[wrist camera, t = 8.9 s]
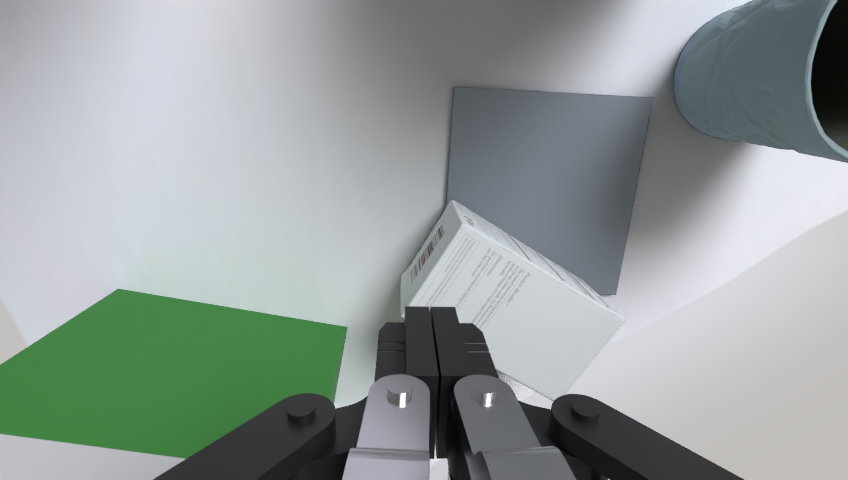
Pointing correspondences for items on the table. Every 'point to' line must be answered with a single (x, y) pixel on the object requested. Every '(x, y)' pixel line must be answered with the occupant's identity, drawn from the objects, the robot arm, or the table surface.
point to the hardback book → (151, 385)
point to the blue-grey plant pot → (770, 76)
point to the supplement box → (511, 301)
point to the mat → (551, 172)
